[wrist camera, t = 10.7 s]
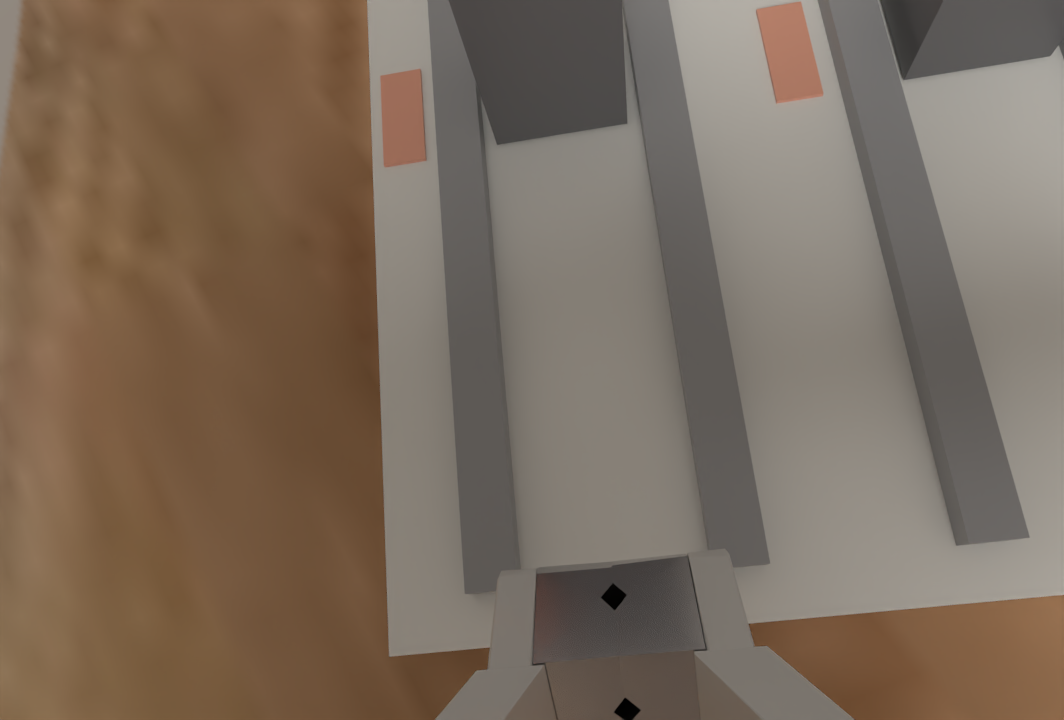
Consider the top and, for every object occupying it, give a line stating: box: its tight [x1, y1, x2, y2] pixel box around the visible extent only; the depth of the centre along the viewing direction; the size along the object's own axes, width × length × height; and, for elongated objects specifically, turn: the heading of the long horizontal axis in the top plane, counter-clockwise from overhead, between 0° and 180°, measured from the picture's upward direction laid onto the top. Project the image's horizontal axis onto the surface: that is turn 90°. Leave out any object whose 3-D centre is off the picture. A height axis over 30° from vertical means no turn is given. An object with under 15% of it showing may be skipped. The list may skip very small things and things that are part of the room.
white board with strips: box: [367, 0, 1064, 657], centre depth 17 cm, size 18×18×3 cm
